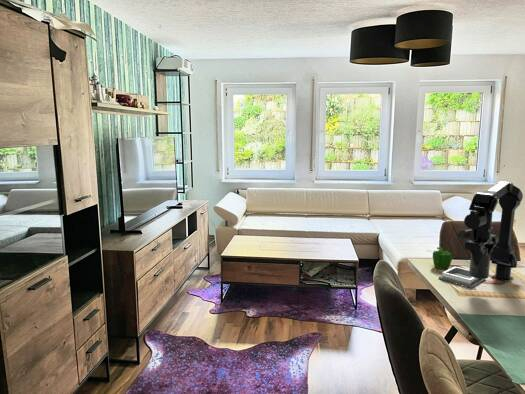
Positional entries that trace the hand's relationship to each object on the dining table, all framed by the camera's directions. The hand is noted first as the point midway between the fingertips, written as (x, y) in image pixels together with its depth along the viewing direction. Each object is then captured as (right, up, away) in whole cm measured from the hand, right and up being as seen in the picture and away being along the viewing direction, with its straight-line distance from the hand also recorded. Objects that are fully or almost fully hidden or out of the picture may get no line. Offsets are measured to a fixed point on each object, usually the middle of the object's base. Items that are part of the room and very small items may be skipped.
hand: (479, 262), depth 159 cm
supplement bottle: (0, -6, +1) cm, 6 cm away
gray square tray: (+1, -10, +17) cm, 19 cm away
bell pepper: (-1, -8, +32) cm, 33 cm away
